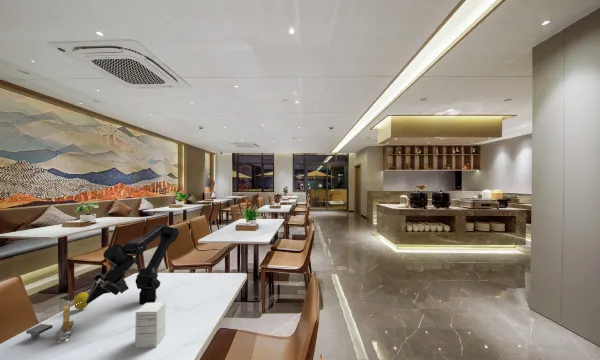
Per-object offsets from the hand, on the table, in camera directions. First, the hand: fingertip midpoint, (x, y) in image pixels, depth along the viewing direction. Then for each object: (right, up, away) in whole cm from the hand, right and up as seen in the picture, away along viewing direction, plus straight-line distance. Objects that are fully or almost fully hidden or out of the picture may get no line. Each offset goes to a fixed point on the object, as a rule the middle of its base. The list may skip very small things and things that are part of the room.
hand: (86, 303), depth 101 cm
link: (-5, -9, -3) cm, 11 cm away
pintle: (-1, -10, -9) cm, 13 cm away
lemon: (-14, -10, +14) cm, 23 cm away
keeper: (-12, -9, -7) cm, 17 cm away
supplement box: (+31, -10, -9) cm, 33 cm away
